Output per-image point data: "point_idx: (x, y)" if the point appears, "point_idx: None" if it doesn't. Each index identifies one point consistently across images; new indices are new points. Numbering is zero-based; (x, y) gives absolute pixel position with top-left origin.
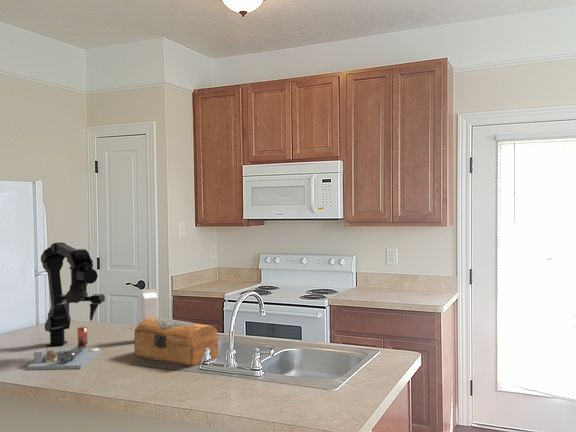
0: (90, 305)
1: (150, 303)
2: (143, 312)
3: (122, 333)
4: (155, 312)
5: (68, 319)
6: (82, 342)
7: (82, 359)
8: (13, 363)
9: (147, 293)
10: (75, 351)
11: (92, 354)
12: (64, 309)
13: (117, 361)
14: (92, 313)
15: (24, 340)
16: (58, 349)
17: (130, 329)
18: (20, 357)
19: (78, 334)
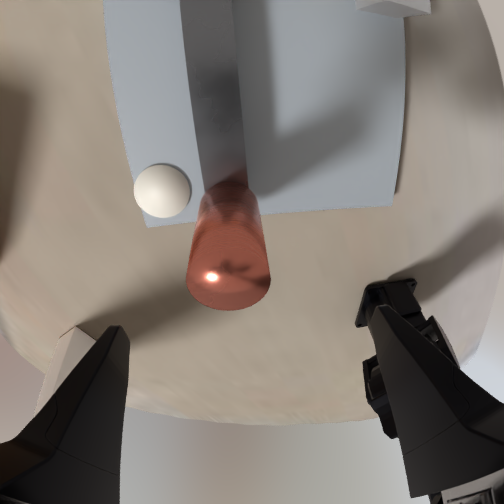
0: (7, 476)
1: None
2: None
3: (211, 392)
4: (36, 414)
5: (377, 325)
6: (216, 192)
7: (132, 2)
8: (475, 44)
9: None
10: (185, 21)
11: (120, 102)
12: (467, 406)
13: (3, 78)
14: (62, 386)
15: (460, 318)
16: (365, 199)
17: (211, 410)
18: (477, 131)
19: (247, 222)
